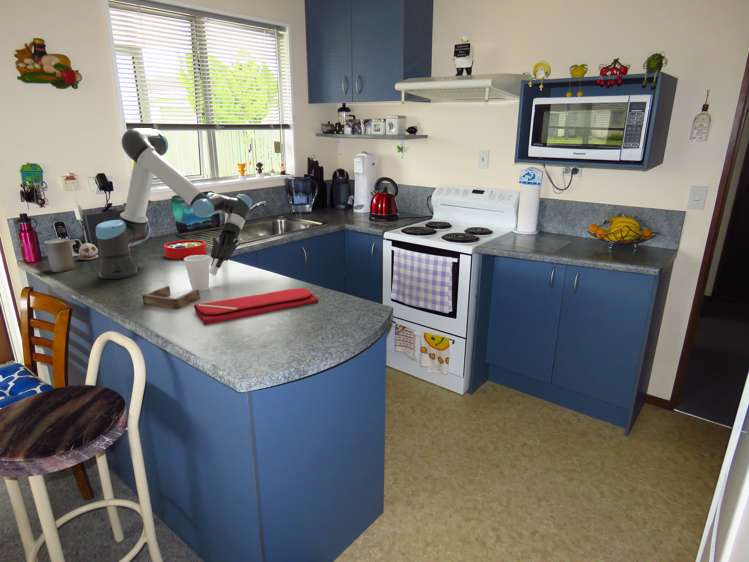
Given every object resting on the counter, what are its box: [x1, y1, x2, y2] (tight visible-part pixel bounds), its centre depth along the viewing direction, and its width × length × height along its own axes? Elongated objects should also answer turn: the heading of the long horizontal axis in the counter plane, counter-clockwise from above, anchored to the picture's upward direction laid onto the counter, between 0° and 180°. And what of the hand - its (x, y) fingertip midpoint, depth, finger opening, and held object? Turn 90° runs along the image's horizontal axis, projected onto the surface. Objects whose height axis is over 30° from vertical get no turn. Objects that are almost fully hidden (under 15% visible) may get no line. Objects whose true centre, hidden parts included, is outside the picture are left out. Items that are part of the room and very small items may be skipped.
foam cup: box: [183, 254, 211, 293], centre depth 190 cm, size 10×9×13 cm
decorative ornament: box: [78, 229, 100, 261], centre depth 239 cm, size 8×8×15 cm
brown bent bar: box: [141, 285, 201, 310], centre depth 178 cm, size 12×15×4 cm
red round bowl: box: [163, 239, 207, 260], centre depth 248 cm, size 20×6×20 cm
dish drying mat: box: [193, 287, 319, 326], centre depth 172 cm, size 16×41×4 cm, turn 122°
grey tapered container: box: [44, 238, 76, 273], centre depth 220 cm, size 10×10×15 cm
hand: (212, 273), depth 198 cm, fingers closed
